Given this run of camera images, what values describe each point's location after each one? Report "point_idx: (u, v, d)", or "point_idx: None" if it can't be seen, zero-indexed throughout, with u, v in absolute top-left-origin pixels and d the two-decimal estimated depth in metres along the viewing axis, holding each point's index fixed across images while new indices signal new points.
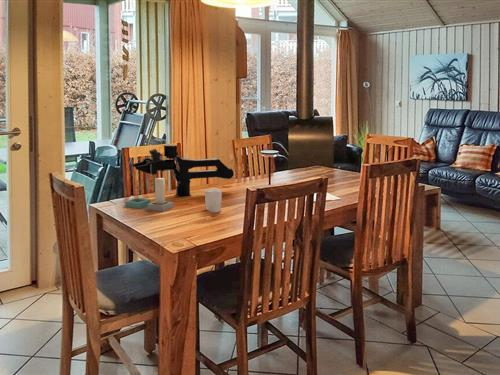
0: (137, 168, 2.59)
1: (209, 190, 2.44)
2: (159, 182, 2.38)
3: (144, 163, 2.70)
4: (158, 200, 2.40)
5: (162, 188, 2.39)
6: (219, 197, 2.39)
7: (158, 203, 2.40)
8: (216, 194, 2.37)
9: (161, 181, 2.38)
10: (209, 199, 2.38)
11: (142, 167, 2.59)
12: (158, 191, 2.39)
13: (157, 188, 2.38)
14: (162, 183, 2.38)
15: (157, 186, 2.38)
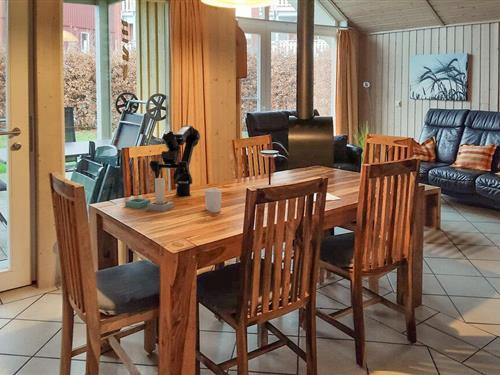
0: (176, 179, 2.47)
1: (209, 190, 2.44)
2: (159, 182, 2.38)
3: (158, 169, 2.51)
4: (158, 200, 2.40)
5: (162, 188, 2.39)
6: (219, 197, 2.39)
7: (158, 203, 2.40)
8: (216, 194, 2.37)
9: (161, 181, 2.38)
10: (209, 199, 2.38)
11: (178, 175, 2.48)
12: (158, 191, 2.39)
13: (157, 188, 2.38)
14: (162, 183, 2.38)
15: (157, 186, 2.38)
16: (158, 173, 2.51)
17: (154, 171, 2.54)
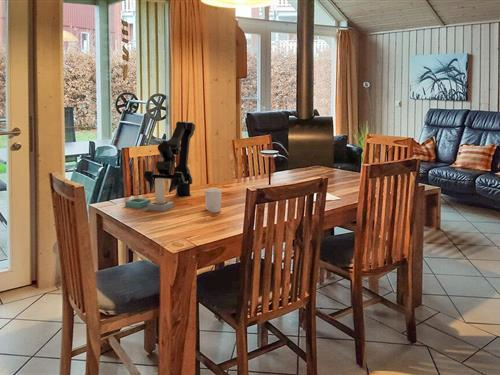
0: (170, 190, 2.40)
1: (209, 190, 2.44)
2: (159, 182, 2.38)
3: (152, 179, 2.44)
4: (158, 200, 2.40)
5: (162, 188, 2.39)
6: (219, 197, 2.39)
7: (158, 203, 2.40)
8: (216, 194, 2.37)
9: (161, 181, 2.38)
10: (209, 199, 2.38)
11: (173, 186, 2.41)
12: (158, 191, 2.39)
13: (157, 188, 2.38)
14: (162, 183, 2.38)
15: (157, 186, 2.38)
16: (152, 184, 2.45)
17: (148, 181, 2.47)
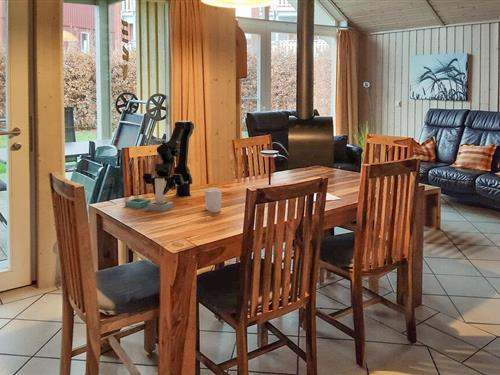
0: (165, 192, 2.40)
1: (209, 190, 2.44)
2: (159, 182, 2.38)
3: None
4: (158, 200, 2.40)
5: (162, 188, 2.39)
6: (219, 197, 2.39)
7: (158, 203, 2.40)
8: (216, 194, 2.37)
9: (161, 181, 2.38)
10: (209, 199, 2.38)
11: (167, 188, 2.41)
12: (158, 191, 2.39)
13: (157, 188, 2.38)
14: (162, 183, 2.38)
15: (157, 186, 2.38)
16: None
17: (152, 184, 2.46)
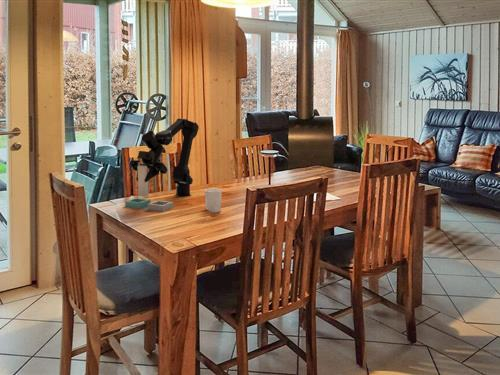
0: (146, 180, 2.41)
1: (209, 190, 2.44)
2: (140, 169, 2.40)
3: None
4: (140, 187, 2.42)
5: (143, 175, 2.41)
6: (219, 197, 2.39)
7: (140, 190, 2.42)
8: (216, 194, 2.37)
9: (142, 168, 2.40)
10: (209, 199, 2.38)
11: (149, 175, 2.42)
12: (139, 178, 2.41)
13: (139, 175, 2.41)
14: (143, 170, 2.40)
15: (139, 173, 2.41)
16: None
17: None
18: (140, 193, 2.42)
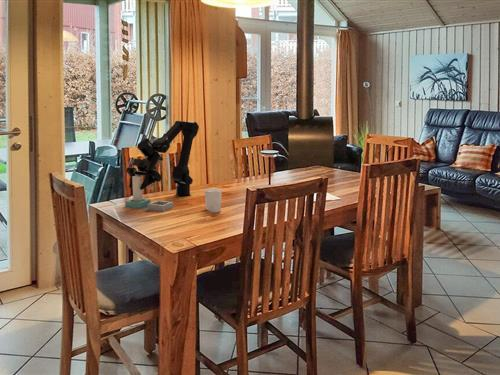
0: (142, 187, 2.43)
1: (209, 190, 2.44)
2: (134, 180, 2.43)
3: None
4: (134, 197, 2.45)
5: (138, 186, 2.44)
6: (219, 197, 2.39)
7: (134, 200, 2.45)
8: (216, 194, 2.37)
9: (136, 179, 2.43)
10: (209, 199, 2.38)
11: (145, 183, 2.43)
12: (134, 188, 2.44)
13: (133, 185, 2.44)
14: (138, 181, 2.43)
15: (133, 183, 2.44)
16: None
17: None
18: None
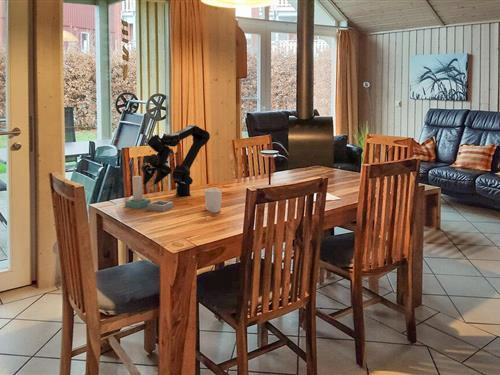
0: (156, 182, 2.50)
1: (209, 190, 2.44)
2: (135, 180, 2.43)
3: (147, 173, 2.59)
4: (134, 197, 2.45)
5: (138, 186, 2.43)
6: (219, 197, 2.39)
7: (134, 200, 2.45)
8: (216, 194, 2.37)
9: (136, 179, 2.43)
10: (209, 199, 2.38)
11: (158, 177, 2.50)
12: (134, 188, 2.44)
13: (133, 185, 2.44)
14: (138, 181, 2.43)
15: (133, 183, 2.44)
16: (148, 177, 2.59)
17: None
18: None
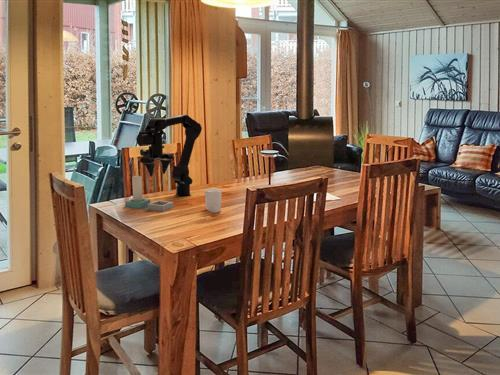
0: (150, 174, 2.56)
1: (209, 190, 2.44)
2: (134, 179, 2.43)
3: (163, 161, 2.63)
4: (134, 197, 2.45)
5: (138, 186, 2.44)
6: (219, 197, 2.39)
7: (134, 200, 2.45)
8: (216, 194, 2.37)
9: (136, 179, 2.43)
10: (209, 199, 2.38)
11: (148, 170, 2.55)
12: (134, 188, 2.44)
13: (133, 185, 2.44)
14: (137, 181, 2.43)
15: (133, 183, 2.44)
16: (164, 165, 2.63)
17: None
18: None
